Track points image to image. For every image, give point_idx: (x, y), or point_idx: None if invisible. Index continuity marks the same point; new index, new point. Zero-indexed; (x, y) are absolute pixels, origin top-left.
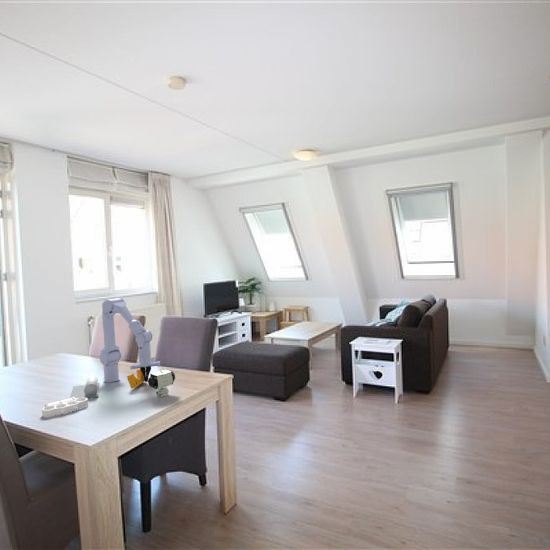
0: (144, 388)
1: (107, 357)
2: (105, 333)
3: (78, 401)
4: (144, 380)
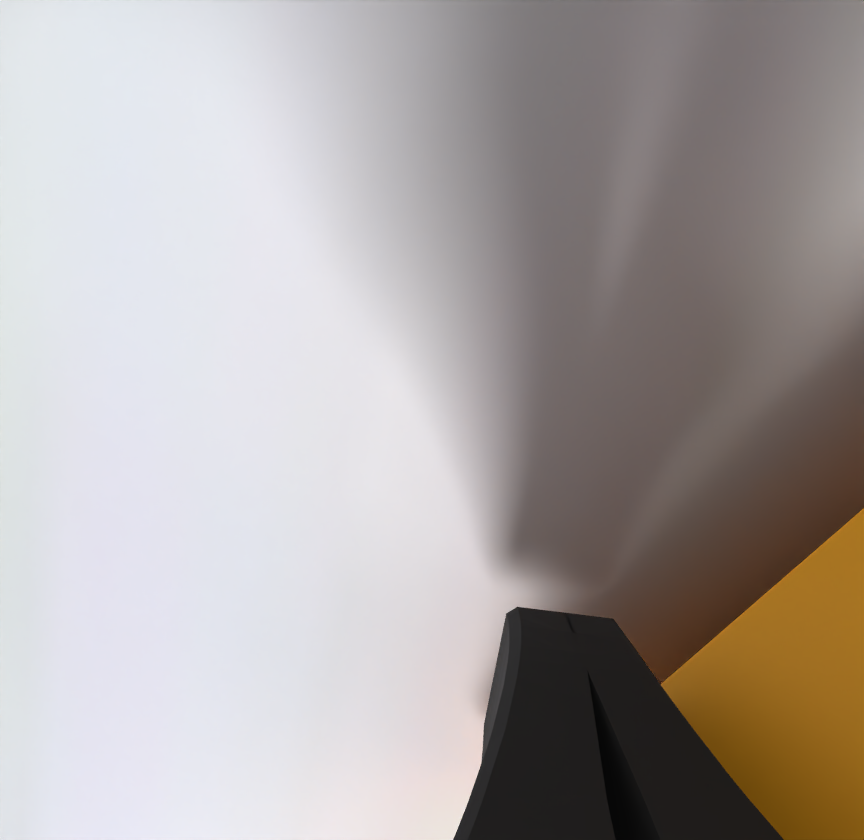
0: (798, 78)
1: None
2: None
3: None
4: None
